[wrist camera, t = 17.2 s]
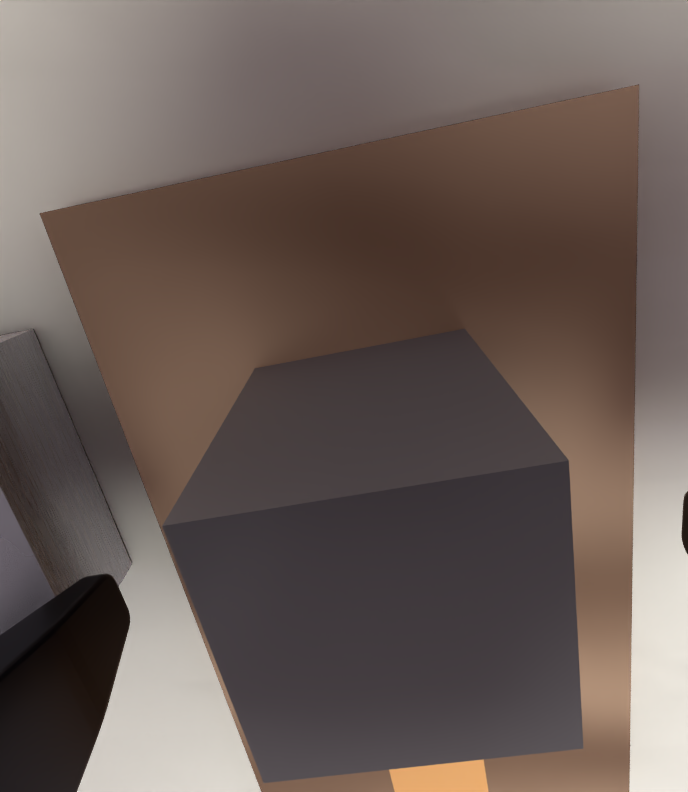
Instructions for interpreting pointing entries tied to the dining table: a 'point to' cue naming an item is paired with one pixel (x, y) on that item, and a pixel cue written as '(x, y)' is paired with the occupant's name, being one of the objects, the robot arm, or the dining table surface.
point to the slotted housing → (45, 490)
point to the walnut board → (400, 330)
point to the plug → (386, 567)
